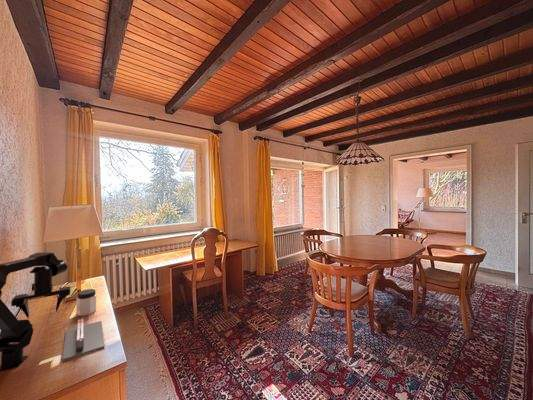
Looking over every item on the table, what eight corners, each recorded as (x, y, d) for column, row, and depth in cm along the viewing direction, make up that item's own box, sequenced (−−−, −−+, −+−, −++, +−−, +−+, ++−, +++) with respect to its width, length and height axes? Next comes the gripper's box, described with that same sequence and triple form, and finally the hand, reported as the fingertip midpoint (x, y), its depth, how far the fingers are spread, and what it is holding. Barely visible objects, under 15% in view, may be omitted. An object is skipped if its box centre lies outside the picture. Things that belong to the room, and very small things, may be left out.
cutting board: (104, 347, 100) (104, 345, 100) (62, 361, 91) (62, 359, 91) (101, 322, 120) (101, 320, 120) (66, 332, 111) (66, 330, 111)
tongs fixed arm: (83, 350, 96) (83, 340, 96) (75, 352, 95) (76, 342, 95) (83, 326, 114) (84, 317, 114) (77, 327, 113) (77, 319, 113)
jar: (74, 313, 129) (74, 292, 129) (90, 307, 136) (91, 287, 136) (81, 317, 125) (81, 295, 125) (98, 311, 132) (98, 290, 132)
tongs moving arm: (83, 346, 98) (83, 337, 98) (80, 347, 98) (80, 338, 98) (83, 325, 114) (83, 318, 114) (80, 326, 114) (81, 319, 114)
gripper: (71, 271, 115) (70, 302, 115) (17, 279, 103) (16, 313, 103) (70, 277, 106) (69, 310, 106) (11, 286, 94) (10, 324, 94)
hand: (42, 314), depth 103 cm, fingers open, 9 cm apart
